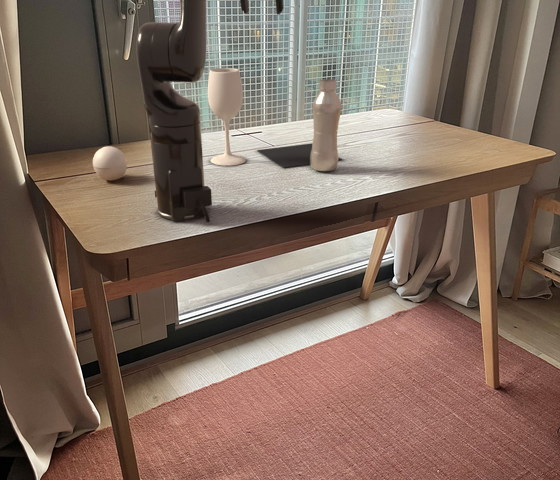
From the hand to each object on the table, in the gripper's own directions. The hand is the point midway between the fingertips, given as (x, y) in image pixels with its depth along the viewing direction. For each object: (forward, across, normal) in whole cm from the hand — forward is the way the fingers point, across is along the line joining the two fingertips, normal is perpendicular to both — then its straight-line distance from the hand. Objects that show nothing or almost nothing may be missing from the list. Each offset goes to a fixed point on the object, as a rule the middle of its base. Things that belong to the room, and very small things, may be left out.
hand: (262, 12), depth 142 cm
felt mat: (+25, +13, -24) cm, 37 cm away
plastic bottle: (+21, +22, -33) cm, 45 cm away
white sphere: (+14, -24, -52) cm, 59 cm away
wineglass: (+22, -3, -32) cm, 39 cm away
